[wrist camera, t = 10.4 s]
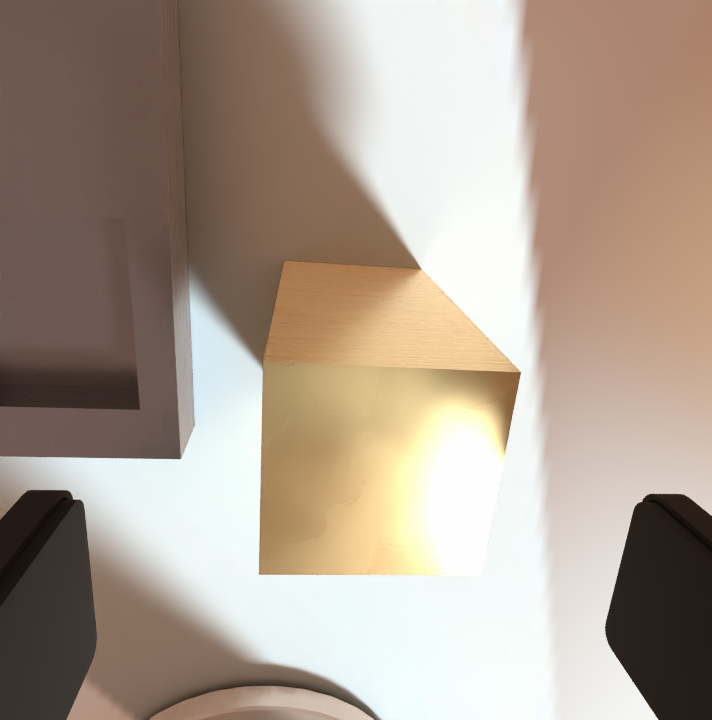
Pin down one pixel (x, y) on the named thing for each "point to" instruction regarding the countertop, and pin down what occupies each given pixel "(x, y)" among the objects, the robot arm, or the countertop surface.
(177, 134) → the grey slotted board
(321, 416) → the wooden block
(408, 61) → the countertop surface
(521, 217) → the countertop surface
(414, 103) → the countertop surface
